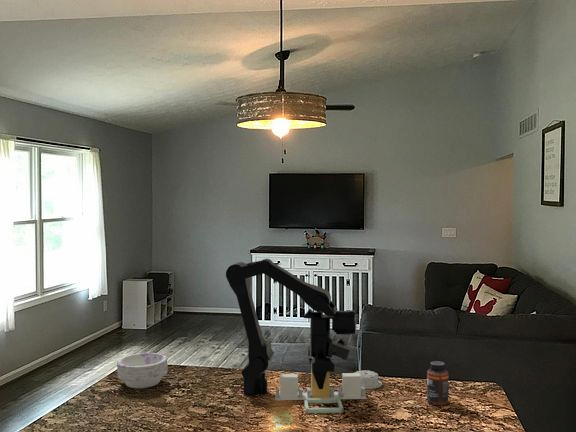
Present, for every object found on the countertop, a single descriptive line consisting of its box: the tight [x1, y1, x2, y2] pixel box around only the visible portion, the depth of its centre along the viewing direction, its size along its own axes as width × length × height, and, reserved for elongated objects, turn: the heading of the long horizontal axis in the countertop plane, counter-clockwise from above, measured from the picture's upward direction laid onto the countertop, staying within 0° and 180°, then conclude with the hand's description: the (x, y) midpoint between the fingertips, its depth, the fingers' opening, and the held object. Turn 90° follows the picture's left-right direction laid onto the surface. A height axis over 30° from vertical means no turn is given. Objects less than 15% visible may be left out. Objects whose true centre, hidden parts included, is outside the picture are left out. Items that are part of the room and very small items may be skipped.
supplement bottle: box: [426, 360, 450, 406], centre depth 167 cm, size 6×6×11 cm
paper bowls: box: [116, 352, 168, 389], centre depth 183 cm, size 15×15×8 cm
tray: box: [303, 398, 345, 414], centre depth 161 cm, size 10×8×2 cm
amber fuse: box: [310, 369, 331, 398], centre depth 170 cm, size 5×3×8 cm, turn 92°
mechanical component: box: [353, 369, 383, 390], centre depth 180 cm, size 10×4×10 cm
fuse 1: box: [279, 373, 299, 398], centre depth 169 cm, size 5×3×6 cm, turn 92°
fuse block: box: [274, 386, 368, 401], centre depth 170 cm, size 26×6×3 cm, turn 92°
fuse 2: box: [341, 372, 361, 397], centre depth 170 cm, size 5×3×6 cm, turn 92°
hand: (320, 387), depth 170 cm, fingers closed on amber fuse, 3 cm apart
